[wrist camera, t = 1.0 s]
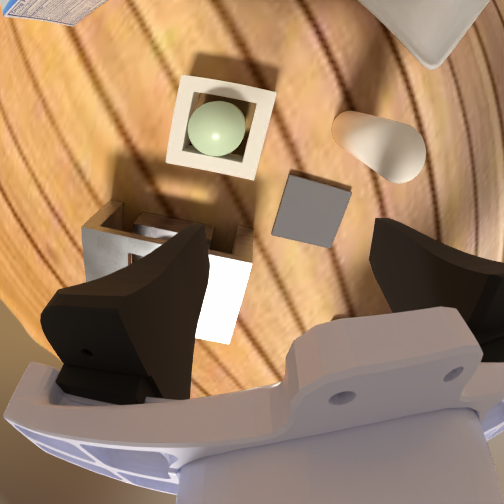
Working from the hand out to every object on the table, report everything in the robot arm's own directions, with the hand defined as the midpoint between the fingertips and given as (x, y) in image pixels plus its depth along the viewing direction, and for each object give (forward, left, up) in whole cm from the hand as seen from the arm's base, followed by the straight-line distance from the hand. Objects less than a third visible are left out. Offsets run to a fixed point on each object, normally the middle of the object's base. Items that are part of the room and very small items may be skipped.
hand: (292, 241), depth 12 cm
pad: (-3, +2, -10) cm, 11 cm away
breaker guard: (+7, +8, -10) cm, 15 cm away
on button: (+5, -3, -9) cm, 10 cm away
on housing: (+5, -3, -10) cm, 12 cm away
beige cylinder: (-4, -5, -10) cm, 12 cm away
